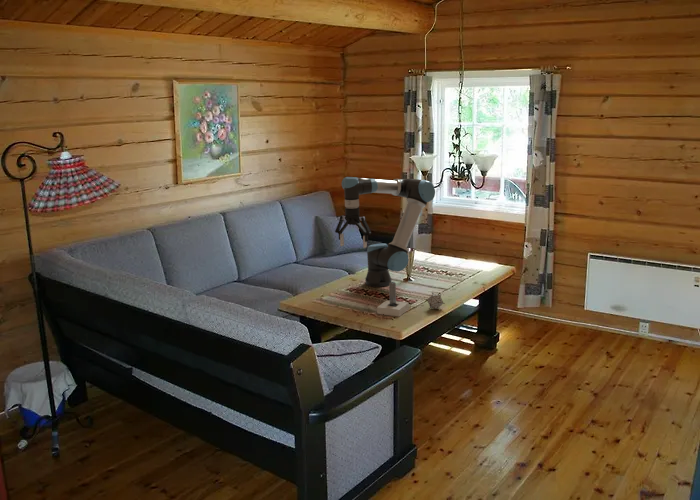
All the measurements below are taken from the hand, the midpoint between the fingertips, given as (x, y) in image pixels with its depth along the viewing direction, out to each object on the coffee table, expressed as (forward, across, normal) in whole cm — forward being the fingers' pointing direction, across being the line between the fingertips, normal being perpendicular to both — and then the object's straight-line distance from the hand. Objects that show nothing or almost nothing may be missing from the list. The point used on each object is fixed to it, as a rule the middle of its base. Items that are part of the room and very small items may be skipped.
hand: (353, 246), depth 360 cm
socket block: (+29, +28, -13) cm, 42 cm away
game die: (+29, +46, -2) cm, 54 cm away
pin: (+29, +28, -13) cm, 42 cm away
